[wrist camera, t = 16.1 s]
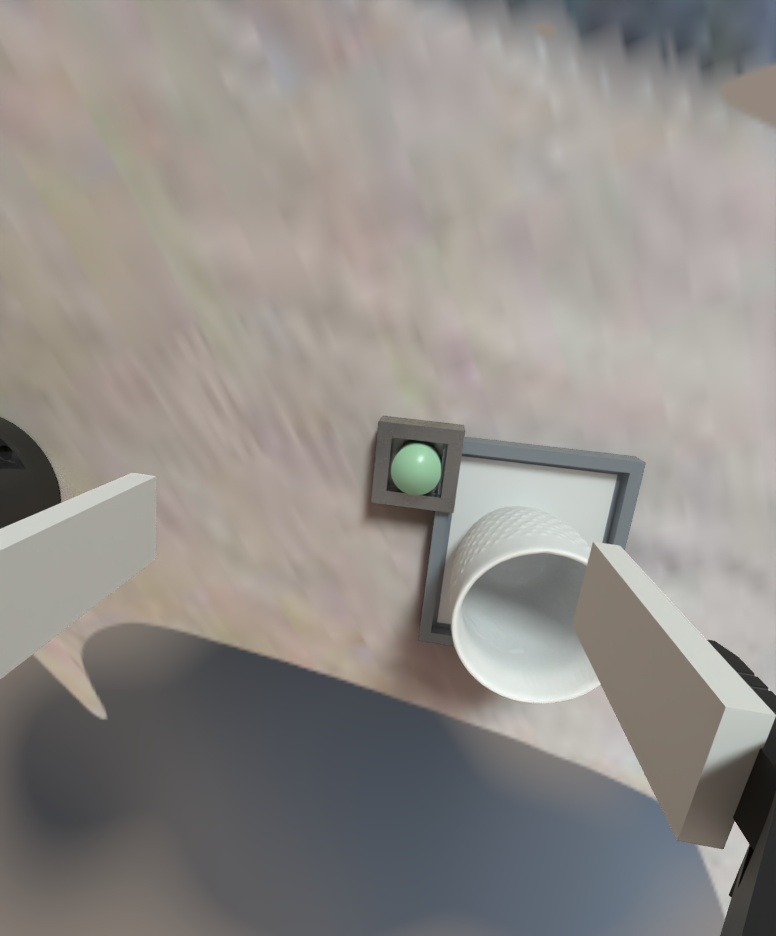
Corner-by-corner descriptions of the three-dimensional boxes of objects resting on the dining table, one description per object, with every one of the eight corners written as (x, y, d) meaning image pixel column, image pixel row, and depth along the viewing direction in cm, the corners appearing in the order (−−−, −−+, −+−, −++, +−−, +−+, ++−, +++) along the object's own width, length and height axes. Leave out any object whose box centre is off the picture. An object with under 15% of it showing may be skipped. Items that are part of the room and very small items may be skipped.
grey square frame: (375, 492, 44) (371, 502, 41) (383, 415, 42) (378, 421, 39) (453, 502, 44) (453, 513, 41) (463, 425, 42) (465, 431, 39)
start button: (391, 484, 42) (388, 492, 40) (396, 438, 41) (393, 444, 39) (438, 490, 41) (437, 498, 39) (443, 444, 40) (443, 450, 38)
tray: (419, 627, 47) (418, 640, 45) (444, 434, 42) (444, 439, 40) (589, 652, 46) (596, 667, 44) (635, 456, 41) (645, 462, 39)
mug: (635, 575, 42) (717, 672, 30) (541, 652, 45) (579, 771, 32) (511, 460, 41) (541, 511, 28) (422, 547, 44) (413, 628, 31)
